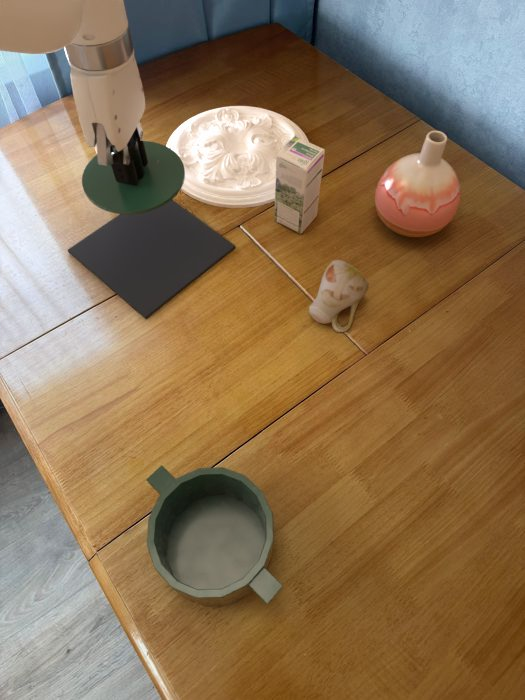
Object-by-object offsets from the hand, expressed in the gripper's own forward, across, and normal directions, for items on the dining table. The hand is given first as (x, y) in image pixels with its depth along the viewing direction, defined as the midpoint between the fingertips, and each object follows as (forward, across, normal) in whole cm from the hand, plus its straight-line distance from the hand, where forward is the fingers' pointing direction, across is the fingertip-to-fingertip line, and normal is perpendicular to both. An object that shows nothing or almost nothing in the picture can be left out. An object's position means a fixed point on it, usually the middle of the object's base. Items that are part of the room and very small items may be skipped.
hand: (132, 172), depth 75 cm
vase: (+17, -16, +42) cm, 48 cm away
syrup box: (+17, -12, +22) cm, 30 cm away
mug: (+17, +5, +32) cm, 36 cm away
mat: (+17, 0, 0) cm, 17 cm away
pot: (+16, +44, +23) cm, 52 cm away
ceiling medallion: (+17, -26, +8) cm, 32 cm away
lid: (+1, 0, 0) cm, 1 cm away
